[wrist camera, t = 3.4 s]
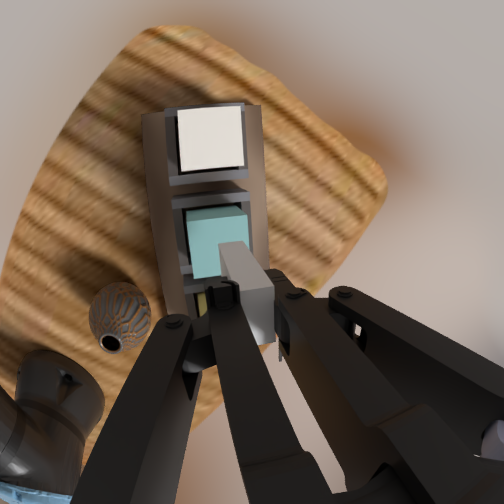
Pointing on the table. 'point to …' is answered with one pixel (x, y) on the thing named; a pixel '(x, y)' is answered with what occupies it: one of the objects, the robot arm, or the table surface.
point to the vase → (119, 317)
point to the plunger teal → (213, 236)
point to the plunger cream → (210, 138)
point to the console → (199, 199)
